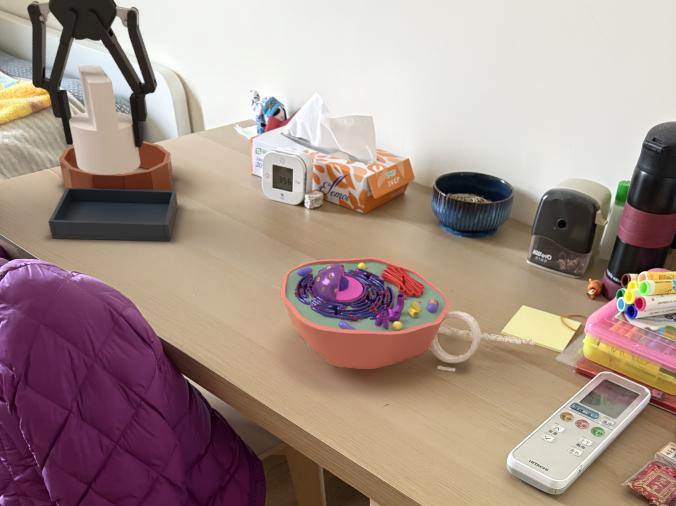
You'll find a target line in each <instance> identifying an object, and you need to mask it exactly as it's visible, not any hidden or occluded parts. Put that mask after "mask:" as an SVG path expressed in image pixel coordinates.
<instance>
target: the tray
mask: <svg viewBox="0 0 676 506" xmlns="http://www.w3.org/2000/svg"><path fill="white" fill-rule="evenodd" d="M178 207H179V205H178V196H177V190H169V191H163V190H133V189H102V188H72V187H71V188H70V187H65V189H64V191H63V193H62V195H61V196H60V198H59V200H58V202H57V205H56V206H55V208H54V210H53V212H52V214H51V216H50V218H49V219H48V222H47V223H48V226H49V230H50V234H51V238H52V239H65V240H104V241H105V240H108V241H110V240H111V241H145V242H147V241H149V242H151V241H152V242H171V238H172V234H173V230H174V224H175V220H176V216H177V211H178Z"/></svg>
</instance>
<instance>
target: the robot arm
mask: <svg viewBox="0 0 676 506" xmlns="http://www.w3.org/2000/svg"><path fill="white" fill-rule="evenodd" d="M26 10H27V14H28V18H29V20H30V23H31V39H32V40H31V54H32V55H31V71H32V72H31V75H32V76H31V82H32V83H31V84H32V86H33V87H34V88H36V89H42V90H44V91H46V92H47V93H48V96H49V100H50V105H51V110H52V114H53V116H54V117H55V118H56V119H61V123H62V127H63V132H64V138H65V144H66V145H68V146H73V140H72V134H71V129H70V124H69V119H70V118H71V117H73V116H72V112H71V107H70V101H69V100H70V99H69V95H68V90H67V89H61V84H62V80H63V77H64V74H65V70H66V67H67V63H68V60H69V57H70V53H71V49H72V46H73V43H74V40H75V41H76V40H77V41H83V40H86V39H87V40H91V41H95V42H101V43H102V45H103V47H104V48H105V49H106V50H107V51H108V53H109V55H110V57H112V60H113V61H114V63H115V64H116V66H117V68H118V70H119V71H120V73H121V75H122V76H123V78H124V80H125V81H126V83H127V85H128V87H129V88H130V90H131V93H130V96H129V98H128V100H129V106H130V114H131V115H130V116H132V122H133V129H134V137H135V144H136V147H142V144H143V141H144V135H143V127H142V126H143V125H142V122H146V121H147V119H148V116H149V115H148V108H147V99H146V96H147V95H150V94H154V93H155V92H156V90H157V87H158V81H157V79H156V76H155V73H154V72H155V71H154V69H153V66H152V63H151V60H150V57H149V54H148V51H147V48H146V44H145V41H144V38H143V36H142V35H143V34H142V32H141V30H140V12H139V11H140V10H139V9H138V8H137V7H135V6H132V7H130V8H129V7H123V6H119V5H117V3H116V2H115V0H49V1H46V2H39V1H37V0H34V1H32V2H31V3H29V4H28V6H27V7H26ZM50 13H51V14H52V16H53V17H54V18H55V19H56V21H57V22H58V23H59V24H60V26H61V27H62V30H61V33H60V37H59V43H58V46H57V49H56V54H55V57H54V60H53V61H54V62H53V64H52V68H51V72H50V76H49V77H47V76H46V75H47V72H46V71H47V68H46V67H47V22H48V21H49V19H50ZM117 17H118V18H119V19H120V21H121V24H122V26H123V27H125V28H126V29H127V34H128V38H129V41H130V44H131V46H132V49H133V52H134V55H135V58H136V62H137V64H138V68H139V70H140V74H141V77H142V79H143V82H142V80H141V78H140V77H139V75H138V73H137V71H136V69H135V68H134V66H133V65H132V63H131V61H130V60H129V58H128V56H127V54H126V53H125V51H124V49H123V47H122V45H121V44H120V42H119V40H118V38H117V35H116V33H115V32H114V30H113V28H112V25H113V24H114V22H115V20H116V18H117Z"/></svg>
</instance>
